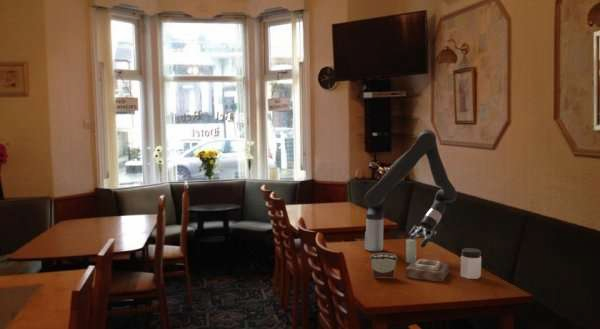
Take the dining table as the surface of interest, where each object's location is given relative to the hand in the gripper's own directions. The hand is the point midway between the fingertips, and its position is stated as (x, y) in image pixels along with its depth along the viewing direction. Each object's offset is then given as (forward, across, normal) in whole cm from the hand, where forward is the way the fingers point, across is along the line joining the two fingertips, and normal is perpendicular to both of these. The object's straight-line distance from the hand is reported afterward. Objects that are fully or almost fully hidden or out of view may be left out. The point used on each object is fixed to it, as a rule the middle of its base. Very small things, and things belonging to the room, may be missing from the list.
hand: (415, 244), depth 255 cm
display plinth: (+15, +19, -3) cm, 24 cm away
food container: (+27, +9, -15) cm, 32 cm away
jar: (+5, +32, +7) cm, 33 cm away
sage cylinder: (+8, 0, +4) cm, 9 cm away
